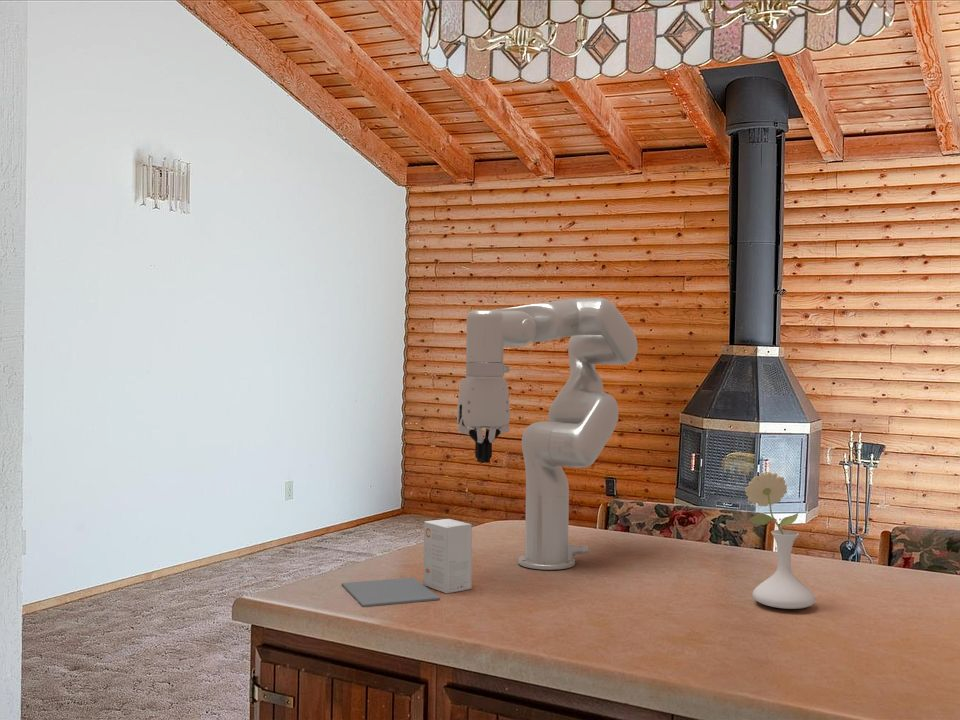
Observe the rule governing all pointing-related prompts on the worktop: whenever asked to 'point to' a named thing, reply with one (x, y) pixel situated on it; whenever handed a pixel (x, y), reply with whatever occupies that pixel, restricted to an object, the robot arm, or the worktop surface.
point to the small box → (448, 555)
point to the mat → (389, 592)
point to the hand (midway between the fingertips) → (483, 462)
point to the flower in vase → (783, 583)
